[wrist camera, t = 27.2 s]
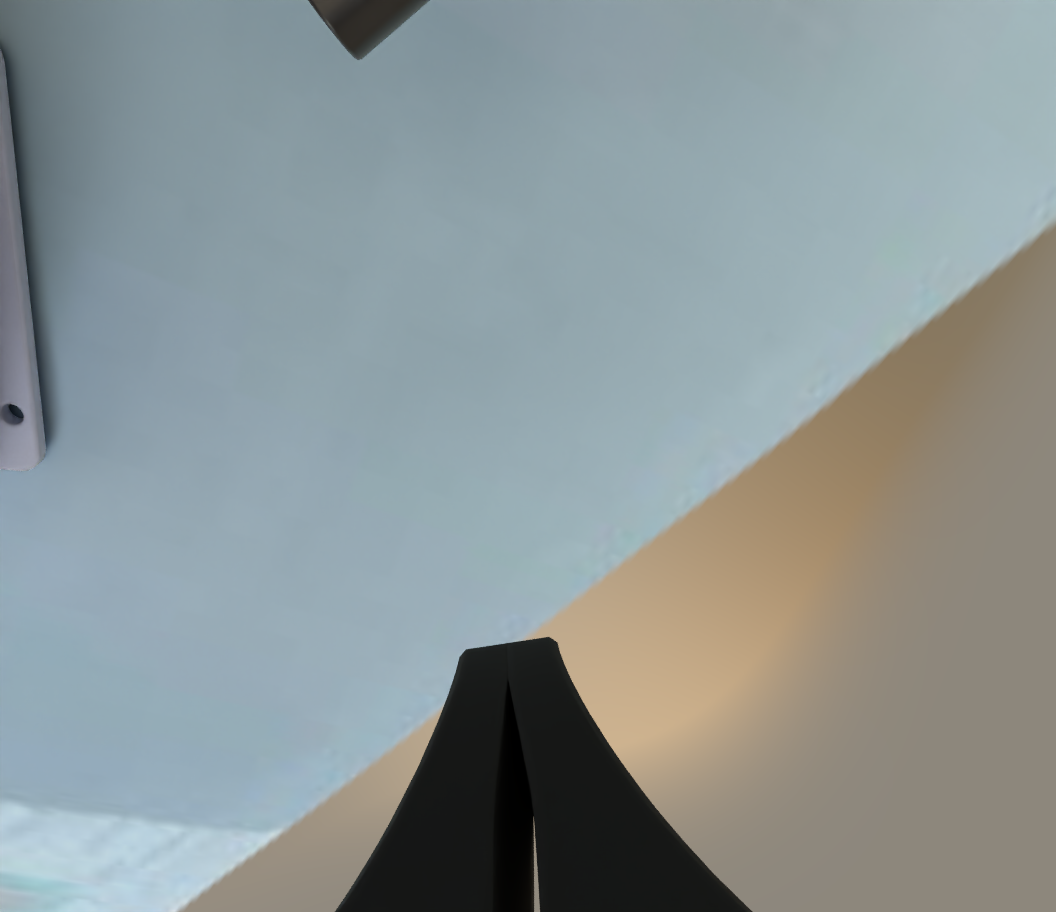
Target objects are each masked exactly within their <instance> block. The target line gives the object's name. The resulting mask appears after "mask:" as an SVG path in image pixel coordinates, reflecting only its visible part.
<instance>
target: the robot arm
mask: <svg viewBox="0 0 1056 912" xmlns="http://www.w3.org/2000/svg"><path fill="white" fill-rule="evenodd" d="M9 404H13V405H16V406H18V407H19V408H20V409H21V410H22V412H23V414H24V419H21V418H18V417H16V416H14V415H13V414H12V413H11V411H10V409H9ZM45 455H46V443H45V434H44V424H43V415H42V406H41V396H40V387H39V378H38V368H37V359H36V349H35V340H34V331H33V321H32V312H31V303H30V293H29V284H28V275H27V265H26V256H25V247H24V237H23V228H22V219H21V209H20V200H19V191H18V181H17V172H16V163H15V153H14V144H13V135H12V125H11V116H10V107H9V97H8V88H7V79H6V69H5V61H4V58H3V54H2V51H1V49H0V469H4V470H14V471H28V470H31V469H33V468H35V467H36V466H37V465H38V464H40V463H41V462H42V460H43V459H44V458H45ZM533 816H534V823H535V838H536V853H537V866H538V882H539V899H540V912H752V911H751V910H750V909H749V908H748V907H747V906H746V905H745V904H744V903H743V902H742V901H741V900H740V899H739V898H738V897H737V896H736V895H735V894H734V893H733V892H732V891H731V890H730V889H729V888H728V887H726V886H725V885H724V884H723V883H722V882H721V881H720V880H719V879H718V878H717V877H716V876H715V875H714V874H713V873H712V872H711V870H709V868H708V867H707V866H706V865H705V864H704V863H703V862H702V861H701V860H700V858H699V857H698V856H697V855H696V854H695V853H694V852H693V851H692V850H691V849H690V848H689V846H688V845H687V844H686V843H685V842H684V841H683V840H682V839H681V837H680V836H679V835H678V834H677V833H676V831H675V830H674V829H673V828H672V827H671V826H670V824H669V823H668V822H667V821H666V820H665V819H664V817H663V816H662V815H661V814H660V813H659V811H658V810H657V809H656V808H655V806H654V805H653V804H652V803H651V802H650V800H649V799H648V798H647V796H646V795H645V794H644V792H643V791H642V790H641V788H640V787H639V786H638V784H637V783H636V782H635V780H634V779H633V778H632V776H631V775H630V773H629V772H628V771H627V770H626V768H625V767H624V765H623V764H622V763H621V761H620V760H619V758H618V757H617V755H616V754H615V753H614V751H613V749H612V748H611V747H610V745H609V743H608V742H607V740H606V739H605V737H604V736H603V734H602V732H601V731H600V729H599V728H598V726H597V725H596V723H595V721H594V720H593V718H592V716H591V715H590V714H589V712H588V710H587V708H586V706H585V705H584V703H583V701H582V699H581V698H580V696H579V694H578V692H577V690H576V688H575V686H574V684H573V682H572V680H571V678H570V676H569V674H568V672H567V669H566V667H565V665H564V662H563V660H562V657H561V654H560V651H559V648H558V644H557V642H556V641H554V640H553V639H551V638H550V637H546V638H539V639H532V640H526V641H519V642H512V643H506V644H499V645H493V646H486V647H479V648H473V649H466V650H465V651H464V653H463V654H462V655H461V656H460V658H459V662H458V666H457V669H456V673H455V676H454V679H453V682H452V685H451V688H450V691H449V694H448V697H447V700H446V702H445V705H444V707H443V710H442V713H441V715H440V718H439V720H438V723H437V725H436V727H435V730H434V732H433V735H432V737H431V739H430V741H429V744H428V746H427V748H426V750H425V753H424V755H423V757H422V760H421V762H420V764H419V766H418V768H417V770H416V772H415V775H414V776H413V778H412V780H411V782H410V784H409V786H408V788H407V790H406V793H405V794H404V796H403V798H402V800H401V802H400V804H399V806H398V808H397V810H396V812H395V814H394V816H393V818H392V820H391V821H390V823H389V825H388V827H387V829H386V831H385V832H384V834H383V836H382V838H381V839H380V841H379V843H378V845H377V846H376V848H375V850H374V851H373V853H372V855H371V857H370V858H369V860H368V861H367V863H366V865H365V866H364V868H363V869H362V871H361V873H360V874H359V876H358V878H357V879H356V881H355V882H354V884H353V886H352V887H351V889H350V890H349V892H348V893H347V895H346V897H345V898H344V899H343V901H342V902H341V904H340V905H339V907H338V908H337V910H336V911H335V912H534V828H533V827H534V826H533Z"/></svg>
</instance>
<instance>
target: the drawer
mask: <svg viewBox="0 0 1056 912" xmlns="http://www.w3.org/2000/svg"><path fill="white" fill-rule="evenodd" d="M308 1H309V2H310V4H311V5H312V6H313V8H314V9H315V10H316V12H317V13H318V14H319V16H320V17H321V18H322V20H323V21H324V22H325V24H326V25H327V26H328V28H329V29H330V30H331V31H332V33H333V34H334V35H335V36H336V38H337V39H338V40H339V41H340V42H341V44H342V45H343V46H344V47H345V48H346V49H347V51H348V52H349V53H350V54H351V55H352V56H353V57H354V58H356V59H357V60H360V59H362V58H364V57H365V56H366V55H367V54H368V53H369V52H370V51H372V50H373V49H374V48H375V47H376V46H377V45H379V44H380V43H381V42H382V41H383V40H384V39H386V38H387V37H388V36H389V35H390V34H391V33H392V32H394V31H395V30H396V29H397V28H398V27H399V26H401V25H402V24H403V23H404V22H405V21H406V20H408V19H409V18H410V17H411V16H412V15H413V14H415V13H416V12H417V11H418V10H419V9H420V8H421V7H423V6H424V5H425V4H426V3H427V2H428V1H430V0H308Z"/></svg>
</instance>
